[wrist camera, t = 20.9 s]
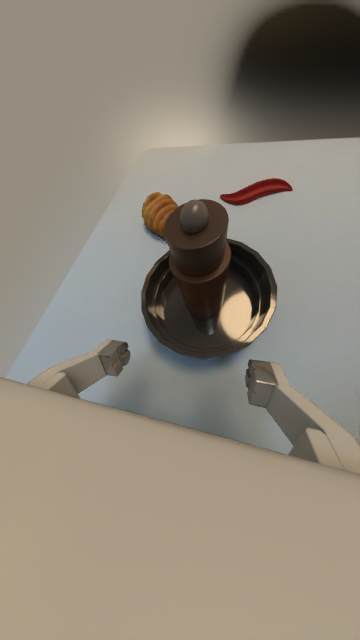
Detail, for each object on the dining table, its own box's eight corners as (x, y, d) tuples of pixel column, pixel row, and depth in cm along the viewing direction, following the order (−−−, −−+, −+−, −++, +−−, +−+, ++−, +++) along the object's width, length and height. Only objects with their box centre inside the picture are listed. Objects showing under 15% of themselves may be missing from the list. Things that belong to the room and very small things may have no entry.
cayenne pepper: (217, 205, 27) (218, 193, 26) (222, 187, 28) (223, 175, 27) (290, 204, 24) (297, 191, 22) (292, 184, 25) (299, 170, 23)
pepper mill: (204, 281, 23) (194, 162, 9) (230, 302, 21) (263, 191, 8) (180, 303, 22) (133, 213, 9) (204, 327, 20) (189, 256, 7)
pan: (205, 243, 25) (204, 219, 21) (290, 302, 20) (311, 284, 15) (135, 305, 25) (119, 293, 20) (202, 386, 19) (200, 392, 15)
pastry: (194, 227, 27) (192, 206, 23) (165, 249, 27) (158, 231, 23) (168, 204, 30) (162, 182, 27) (142, 223, 30) (132, 204, 27)
